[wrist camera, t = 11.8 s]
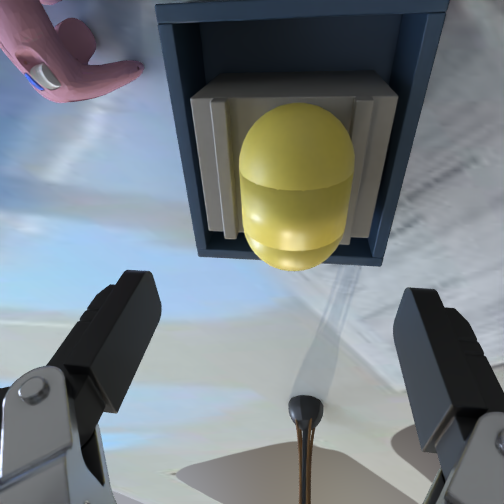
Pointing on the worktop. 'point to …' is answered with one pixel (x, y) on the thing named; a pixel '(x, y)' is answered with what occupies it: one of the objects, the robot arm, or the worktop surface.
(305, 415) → the wooden tabletop sculpture
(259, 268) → the worktop surface
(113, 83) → the video game controller
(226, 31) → the crate
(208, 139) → the block
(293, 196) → the yellow capsule
